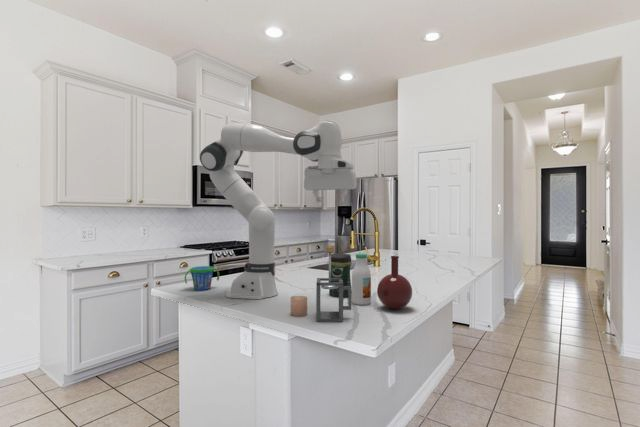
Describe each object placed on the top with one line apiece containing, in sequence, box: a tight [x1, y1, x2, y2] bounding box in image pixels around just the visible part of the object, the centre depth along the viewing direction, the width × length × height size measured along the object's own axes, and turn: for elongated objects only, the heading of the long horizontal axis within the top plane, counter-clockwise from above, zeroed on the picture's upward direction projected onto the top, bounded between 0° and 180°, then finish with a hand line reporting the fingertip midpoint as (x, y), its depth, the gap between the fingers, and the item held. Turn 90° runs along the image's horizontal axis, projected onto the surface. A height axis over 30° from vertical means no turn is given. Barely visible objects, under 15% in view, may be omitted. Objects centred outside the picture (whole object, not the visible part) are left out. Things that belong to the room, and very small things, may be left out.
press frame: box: [315, 277, 352, 323], centre depth 125 cm, size 12×9×13 cm
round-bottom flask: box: [376, 255, 413, 310], centre depth 138 cm, size 13×13×20 cm
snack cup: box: [184, 265, 220, 291], centre depth 170 cm, size 16×10×10 cm
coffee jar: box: [328, 252, 352, 298], centre depth 159 cm, size 10×8×19 cm
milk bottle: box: [351, 252, 372, 306], centre depth 146 cm, size 8×8×20 cm
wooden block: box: [290, 295, 308, 318], centre depth 130 cm, size 6×6×6 cm
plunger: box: [320, 244, 338, 290], centre depth 125 cm, size 6×6×15 cm
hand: (329, 201), depth 135 cm, fingers open, 8 cm apart
